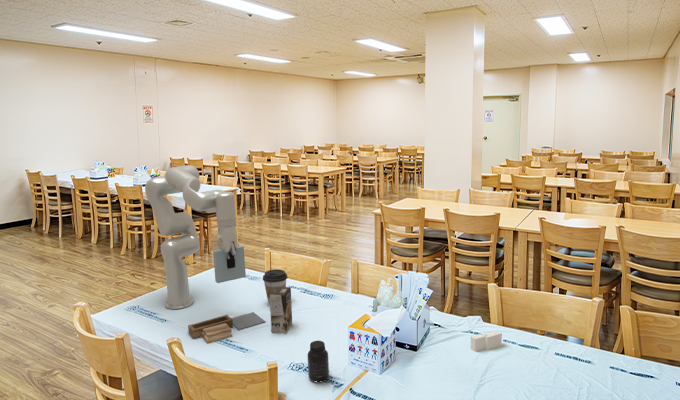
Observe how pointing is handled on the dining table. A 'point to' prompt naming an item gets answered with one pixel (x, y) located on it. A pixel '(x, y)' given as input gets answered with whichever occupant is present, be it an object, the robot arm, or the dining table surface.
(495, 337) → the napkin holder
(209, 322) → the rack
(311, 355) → the supplement bottle
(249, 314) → the mat
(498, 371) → the dining table surface
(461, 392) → the dining table surface
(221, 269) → the square sheet
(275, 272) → the coffee cup
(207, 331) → the offcut stack
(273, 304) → the coffee box
